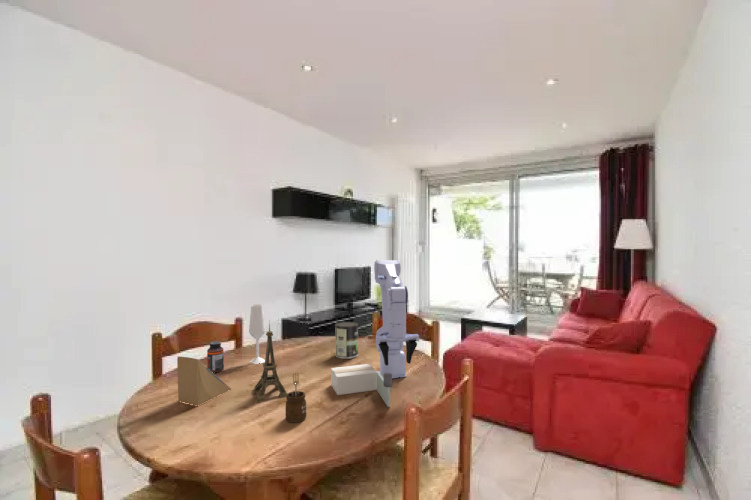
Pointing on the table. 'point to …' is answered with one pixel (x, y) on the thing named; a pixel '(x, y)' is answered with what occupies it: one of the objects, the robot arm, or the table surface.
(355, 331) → the coffee can
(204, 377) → the sandwich container
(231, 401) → the table surface
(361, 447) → the table surface
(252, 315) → the champagne flute
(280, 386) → the eiffel tower
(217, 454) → the table surface
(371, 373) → the carton
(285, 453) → the table surface
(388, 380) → the flap
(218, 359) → the supplement bottle
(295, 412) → the utensil holder
